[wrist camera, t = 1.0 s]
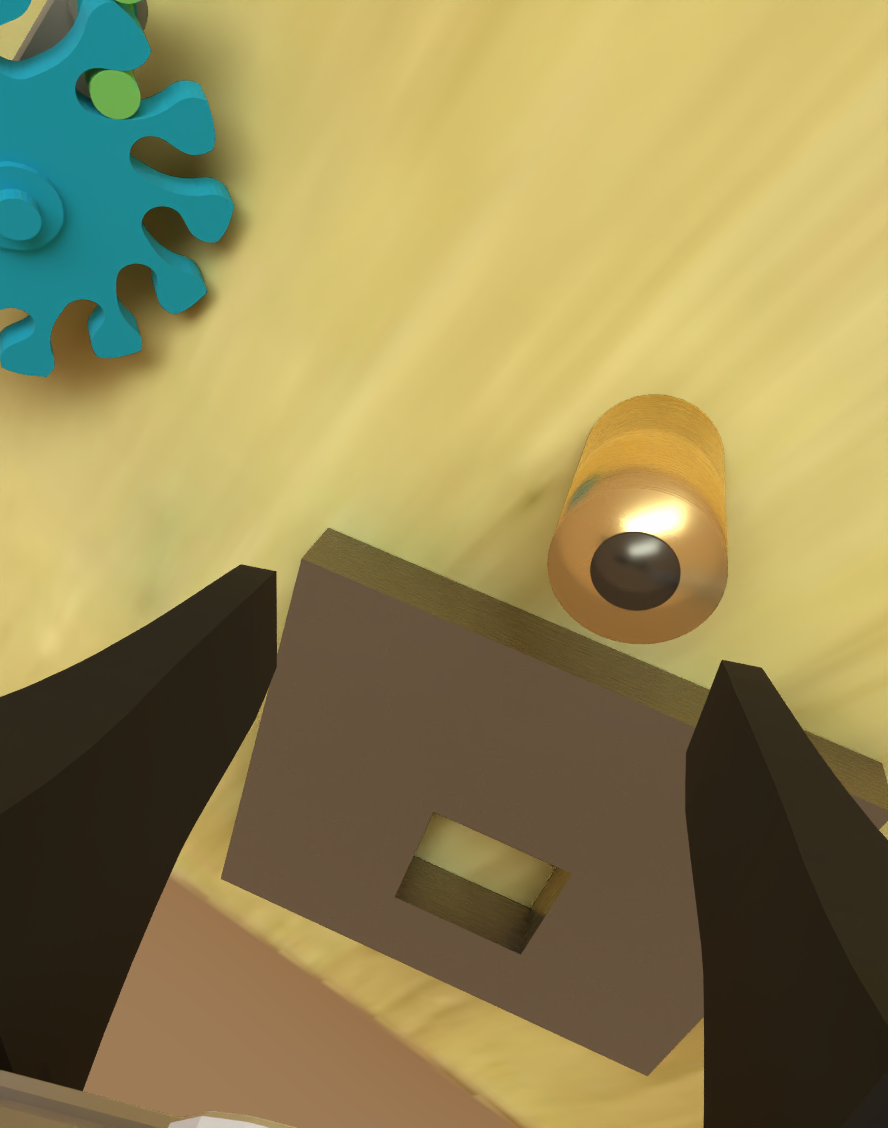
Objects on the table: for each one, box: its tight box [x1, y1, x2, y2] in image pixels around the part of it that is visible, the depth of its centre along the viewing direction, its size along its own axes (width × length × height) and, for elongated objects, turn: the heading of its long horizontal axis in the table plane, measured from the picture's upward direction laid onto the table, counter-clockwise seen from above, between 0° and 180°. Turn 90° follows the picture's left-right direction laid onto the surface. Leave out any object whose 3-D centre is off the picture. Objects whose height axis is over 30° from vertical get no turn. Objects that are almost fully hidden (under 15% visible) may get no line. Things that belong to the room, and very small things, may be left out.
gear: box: [0, 0, 234, 377], centre depth 20 cm, size 11×6×10 cm
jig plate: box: [221, 528, 888, 1076], centre depth 29 cm, size 18×16×2 cm
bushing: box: [548, 394, 728, 644], centre depth 20 cm, size 4×4×6 cm
